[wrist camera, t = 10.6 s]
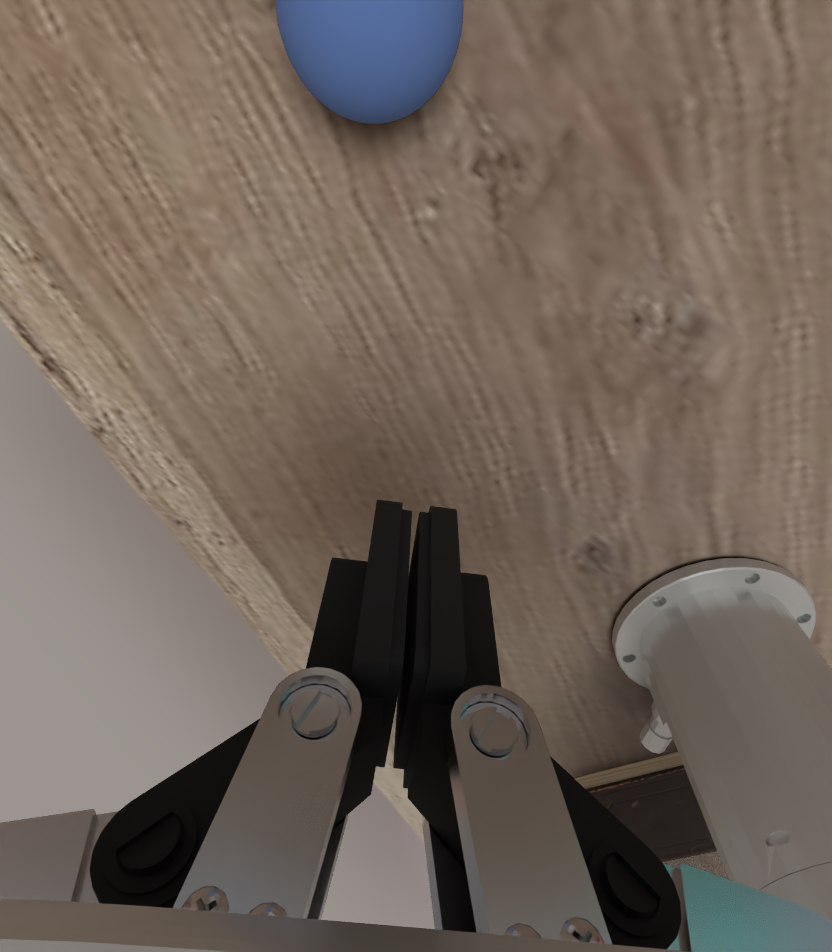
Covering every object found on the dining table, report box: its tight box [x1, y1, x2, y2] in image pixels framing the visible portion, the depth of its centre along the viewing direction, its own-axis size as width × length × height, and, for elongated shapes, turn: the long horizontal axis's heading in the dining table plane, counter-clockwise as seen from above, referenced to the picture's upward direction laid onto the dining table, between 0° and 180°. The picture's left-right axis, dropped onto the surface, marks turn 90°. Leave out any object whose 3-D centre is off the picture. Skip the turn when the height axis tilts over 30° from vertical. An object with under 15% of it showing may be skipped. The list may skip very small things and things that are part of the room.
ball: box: [276, 0, 463, 124], centre depth 18 cm, size 6×6×6 cm
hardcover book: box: [574, 752, 717, 862], centre depth 48 cm, size 16×23×2 cm
